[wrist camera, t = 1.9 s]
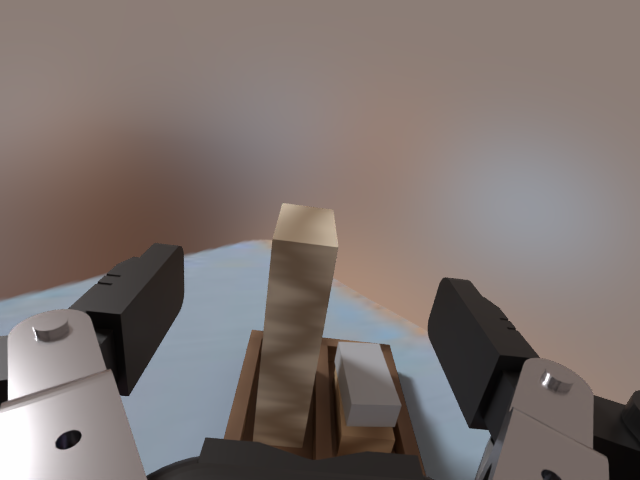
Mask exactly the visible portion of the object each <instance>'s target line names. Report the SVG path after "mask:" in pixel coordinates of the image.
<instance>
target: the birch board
mask: <svg viewBox="0 0 640 480" xmlns="http://www.w3.org/2000/svg"><path fill="white" fill-rule="evenodd" d="M337 252H338V242H337V234H336V226H335V219H334V212H333V210H330V209H323V208H315V207H308V206H300V205H293V204H285V203H283V204H282V207H281V211H280V214H279V218H278V221H277V225H276V229H275V232H274V236H273V240H272V251H271V261H270V271H269V281H268V291H267V301H266V311H265V322H264V332H263V342H262V352H261V362H260V372H259V383H258V393H257V403H256V413H255V423H254V433H253V442H260V443H263V444H266V445H273V446H285V447H296V448H302V446H303V441H304V435H305V430H306V424H307V419H308V413H309V408H310V402H311V396H312V391H313V385H314V380H315V374H316V369H317V363H318V358H319V352H320V346H321V341H322V335H323V330H324V324H325V319H326V313H327V308H328V302H329V296H330V291H331V285H332V280H333V274H334V268H335V263H336V257H337Z"/></svg>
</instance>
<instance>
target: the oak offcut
mask: <svg viewBox="0 0 640 480" xmlns="http://www.w3.org/2000/svg"><path fill="white" fill-rule="evenodd" d="M333 397H334V415H335V433H336V451H337V456H343V455H348V454H354V453H360V452H365V451H371V452H383V453H391V451H392V448H393V445H394V442H395V437H394V433H393V428H392V427H361V426H346V421H345V415H344V410H343V404H342V399H341V394H340V388H339V383H338V377H337V372H336V367H335V372H334V377H333Z"/></svg>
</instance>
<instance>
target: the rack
mask: <svg viewBox="0 0 640 480" xmlns="http://www.w3.org/2000/svg"><path fill="white" fill-rule="evenodd" d="M263 332H264V331H257V330H252V332H251V335H250V339H249V343H248V347H247V351H246V355H245V359H244V362H243V366H242V370H241V374H240V378H239V382H238V386H237V389H236V393H235V397H234V401H233V405H232V409H231V413H230V417H229V420H228V424H227V428H226V432H225V436H224V439H229V440H240V441H252V442H253V433H254V423H255V413H256V403H257V393H258V383H259V372H260V362H261V352H262V342H263ZM338 342H355V343H368V342H358V341H349V340H340V339H331V338H322V341H321V346H320V352H319V358H318V363H317V369H316V374H315V380H314V385H313V391H312V396H311V402H310V408H309V413H308V419H307V424H306V430H305V435H304V441H303V446H302V448H296V447H285V446H273V445H269V446H272V447H275V448H278V449H281V450H284V451H287V452H290V453H293V454H295V455H298V456H301V457H304V458H307V459H311V460H320V459H326V458H331V457H337V451H336V433H335V415H334V397H333V377H334V372H335V356H336V351H337V347H338ZM375 344H377V343H375ZM379 345H380V348H381V350H382V353H383V356H384V359H385V361H386V364H387V367H388V370H389V372H390V375H391V378H392V381H393V383H394V386H395V389H396V392H397V394H398V397H399V400H400V403H401V405H402V406H401V409H400V412H399V415H398V418H397V421H396V425H395V427H392V428H393V433H394V437H395V442H394V445H393V448H392V451H391V453H395V454H406V455H418V458H419V462H420V466H421V469H422V473H423V475H424V476H426V474H425V470H424V467H423V463H422V460H421V456H420V452H419V449H418V445H417V442H416V438H415V434H414V431H413V427H412V424H411V420H410V417H409V413H408V409H407V406H406V402H405V399H404V395H403V392H402V388H401V384H400V381H399V377H398V374H397V370H396V366H395V363H394V359H393V356H392V352H391V349H390V345H386V344H379Z"/></svg>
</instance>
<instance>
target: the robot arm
mask: <svg viewBox="0 0 640 480" xmlns="http://www.w3.org/2000/svg"><path fill="white" fill-rule="evenodd" d="M183 299H184V253H183V248H182V247H181V246H176V245H167V244H159V243H155V244H153V245H152V246H151V247H150V248H149V249H148V250H147V251H146V252H145V253H144V254H143V255H142V256H141V257H140V258H138V257H132V258H130V259H128V260H126V261H124V262H121V263H119V264H117V265H116V266H115V267H114V268H113V269H112V270H110V271H109V272H108V273H107V276H104V277H103V278H102V279H100V280H99V281H98V284H95V285H94V286H93V287H92V288H91V289H89V290H88V291H87V292H86V293H85V294H84V295H83V296H82V297H81V298H79V299H78V300H77V301H76V302H75V303H74V304H73V305H72V306H71V307H69V308H68V309H60V310H52V311H47V312H43V313H40V314H37V315H34V316H32V317H30V318H27V319H26V320H24V321H22V322H21V323H19V324H18V325H16V326H15V327H14V328H13V329H12V330H11V331H10V333H9V335H8V336H0V480H434V479H432V478H429V477H427V476H424V475H423V473H422V469H421V466H420V462H419V458H418V455H406V454H395V453H383V452H371V451H365V452H360V453H354V454H348V455H343V456H337V457H331V458H326V459H320V460H311V459H307V458H304V457H301V456H298V455H295V454H293V453H290V452H287V451H284V450H281V449H278V448H275V447H272V446H269V445H266V444H263V443H260V442H252V441H240V440H229V439H217V438H205V441H204V444H203V447H202V450H201V453H200V456H198V457H192V458H188V459H185V460H181V461H178V462H175V463H172V464H170V465H167V466H165V467H162V468H160V469H159V470H157V471H155V472H153V473H151V474H149V475H147V476H146V475H145V471H144V468H143V465H142V462H141V459H140V456H139V453H138V450H137V447H136V444H135V441H134V438H133V434H132V431H131V428H130V425H129V422H128V419H127V416H126V413H125V410H124V407H123V404H122V400H121V397H120V395H121V396H129V395H130V393H131V391H132V390H133V388H134V386H135V385H136V383H137V382H138V380H139V378H140V377H141V375H142V373H143V372H144V370H145V368H146V367H147V365H148V363H149V362H150V360H151V358H152V357H153V355H154V353H155V352H156V350H157V348H158V347H159V345H160V343H161V342H162V340H163V338H164V337H165V335H166V333H167V332H168V330H169V328H170V327H171V325H172V323H173V322H174V320H175V318H176V317H177V315H178V313H179V312H180V309H181V307H182V303H183ZM428 336H429V339H430V341H431V344H432V346H433V348H434V350H435V353H436V355H437V357H438V359H439V362H440V364H441V366H442V368H443V371H444V373H445V375H446V377H447V380H448V382H449V384H450V386H451V389H452V391H453V393H454V395H455V398H456V400H457V402H458V404H459V407H460V409H461V411H462V413H463V416H464V418H465V420H466V422H467V424H468V427H469V428H473V429H484V430H489V432H490V434H491V436H490V439H489V441H488V443H487V445H486V448H485V451H484V454H483V457H482V459H481V462H480V465H479V468H478V471H477V474H476V477H475V480H640V390H639V391H635V392H634V393H633V395H632V396H631V398H630V399H629V401H628V402H627V404H626V405H623V404H620V403H617V402H614V401H611V400H607V399H604V398H601V397H598V396H595V395H593V392H592V390H591V388H590V387H589V385H588V384H587V383H586V382H585V381H584V380H583V379H582V378H581V377H580V376H579V375H577V374H576V373H575V372H573V371H572V370H570V369H568V368H567V367H565V366H563V365H561V364H559V363H556V362H554V361H551V360H547V359H543V358H540V357H539V356H538V355H537V353H536V352H535V351H534V350H533V349H532V347H531V346H530V345H529V344H528V343H527V341H526V340H525V339H524V338H523V336H522V335H521V334H520V333H519V332H518V331H516V328H515V327H514V325H513V324H512V323H511V322H510V321H508V318H507V317H506V316H505V314H504V313H503V312H502V311H501V310H500V308H499V307H497V306H496V305H494V304H493V303H492V302H490V301H489V300H487V299H486V298H485V297H482V295H481V294H480V293H479V292H478V290H477V289H476V288H475V287H474V285H473V284H472V283H471V282H470V281H469V280H463V279H454V278H443V279H442V280H441V282H440V284H439V287H438V290H437V294H436V297H435V300H434V304H433V307H432V310H431V313H430V317H429V320H428Z"/></svg>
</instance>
